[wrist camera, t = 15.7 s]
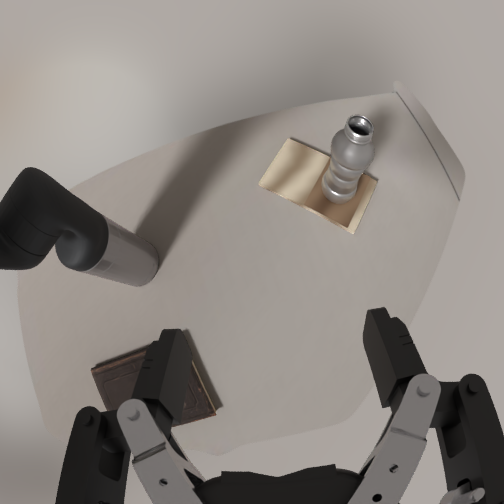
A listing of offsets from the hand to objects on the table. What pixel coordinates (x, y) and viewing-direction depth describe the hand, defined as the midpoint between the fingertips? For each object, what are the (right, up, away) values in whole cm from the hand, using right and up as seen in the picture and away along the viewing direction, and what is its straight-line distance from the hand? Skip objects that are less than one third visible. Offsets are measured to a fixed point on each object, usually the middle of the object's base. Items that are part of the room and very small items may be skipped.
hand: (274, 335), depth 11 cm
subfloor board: (+12, +17, +40) cm, 45 cm away
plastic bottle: (+15, +15, +38) cm, 44 cm away
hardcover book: (-21, -23, +36) cm, 47 cm away
